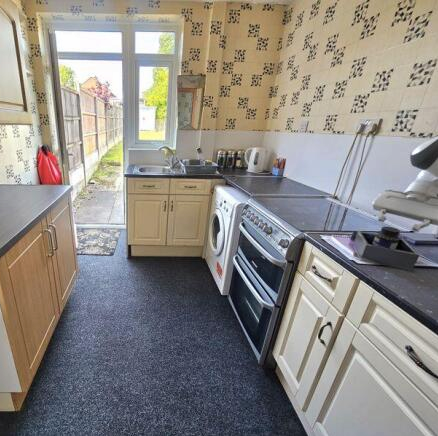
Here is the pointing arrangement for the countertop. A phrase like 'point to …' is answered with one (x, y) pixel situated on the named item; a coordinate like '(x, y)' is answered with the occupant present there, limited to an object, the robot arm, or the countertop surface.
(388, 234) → the pill bottle
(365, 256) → the dark grey square box
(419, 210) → the robot arm
